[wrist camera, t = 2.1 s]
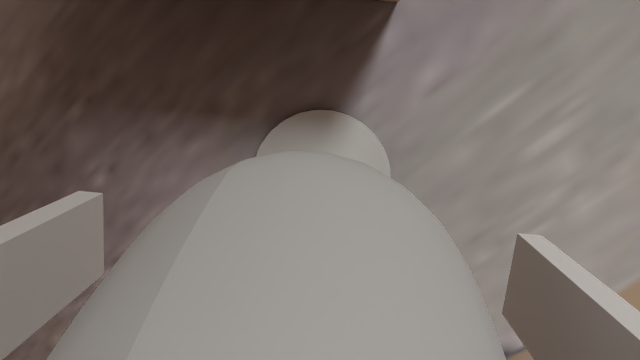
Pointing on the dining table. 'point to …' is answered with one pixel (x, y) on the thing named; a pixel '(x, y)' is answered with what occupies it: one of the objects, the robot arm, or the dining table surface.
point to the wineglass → (290, 265)
